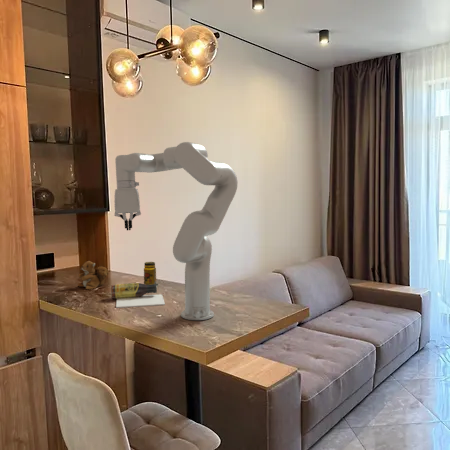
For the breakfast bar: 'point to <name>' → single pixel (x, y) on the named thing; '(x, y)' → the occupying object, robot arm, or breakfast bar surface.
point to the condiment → (150, 273)
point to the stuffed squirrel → (92, 275)
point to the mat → (140, 301)
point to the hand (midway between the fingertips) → (128, 230)
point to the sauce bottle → (131, 290)
